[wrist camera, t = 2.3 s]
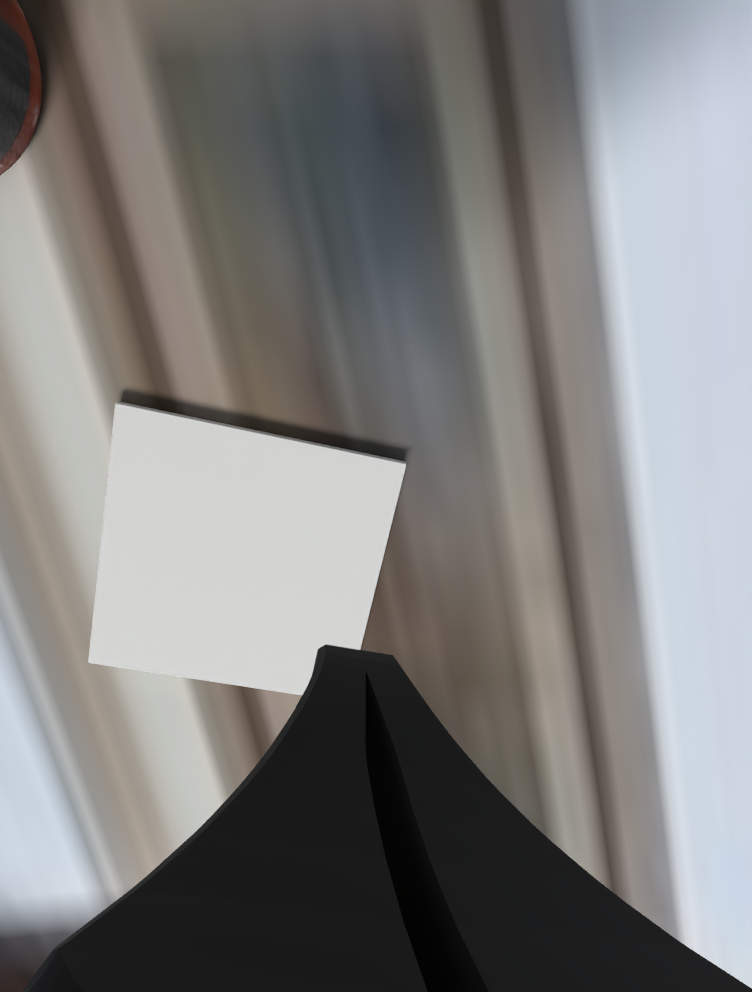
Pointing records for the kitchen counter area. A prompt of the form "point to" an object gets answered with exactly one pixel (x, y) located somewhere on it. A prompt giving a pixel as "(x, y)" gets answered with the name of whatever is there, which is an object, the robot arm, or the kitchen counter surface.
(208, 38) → the kitchen counter surface
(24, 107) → the supplement bottle
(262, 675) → the mat
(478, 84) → the kitchen counter surface
